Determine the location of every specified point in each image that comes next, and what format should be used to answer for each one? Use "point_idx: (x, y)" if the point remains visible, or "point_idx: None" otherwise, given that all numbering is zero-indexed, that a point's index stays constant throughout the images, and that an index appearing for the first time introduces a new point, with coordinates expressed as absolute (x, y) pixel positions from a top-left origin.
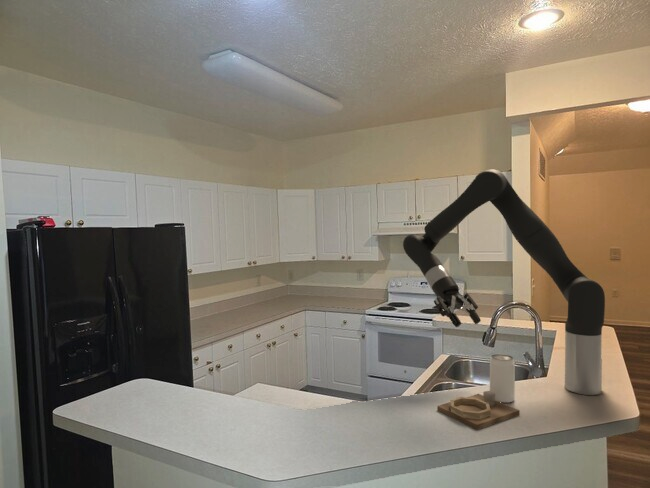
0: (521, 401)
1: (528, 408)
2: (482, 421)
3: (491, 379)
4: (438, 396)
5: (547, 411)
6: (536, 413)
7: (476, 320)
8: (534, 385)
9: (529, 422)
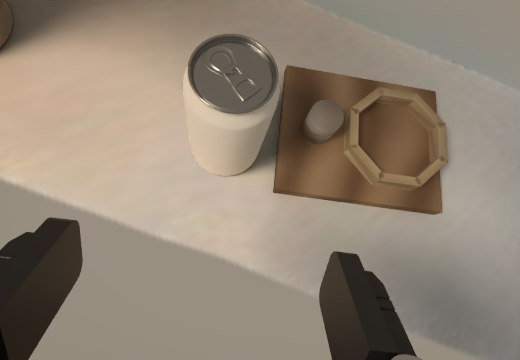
0: None
1: None
2: (412, 92)
3: (264, 136)
4: None
5: None
6: None
7: (68, 256)
8: (26, 132)
9: (303, 43)
